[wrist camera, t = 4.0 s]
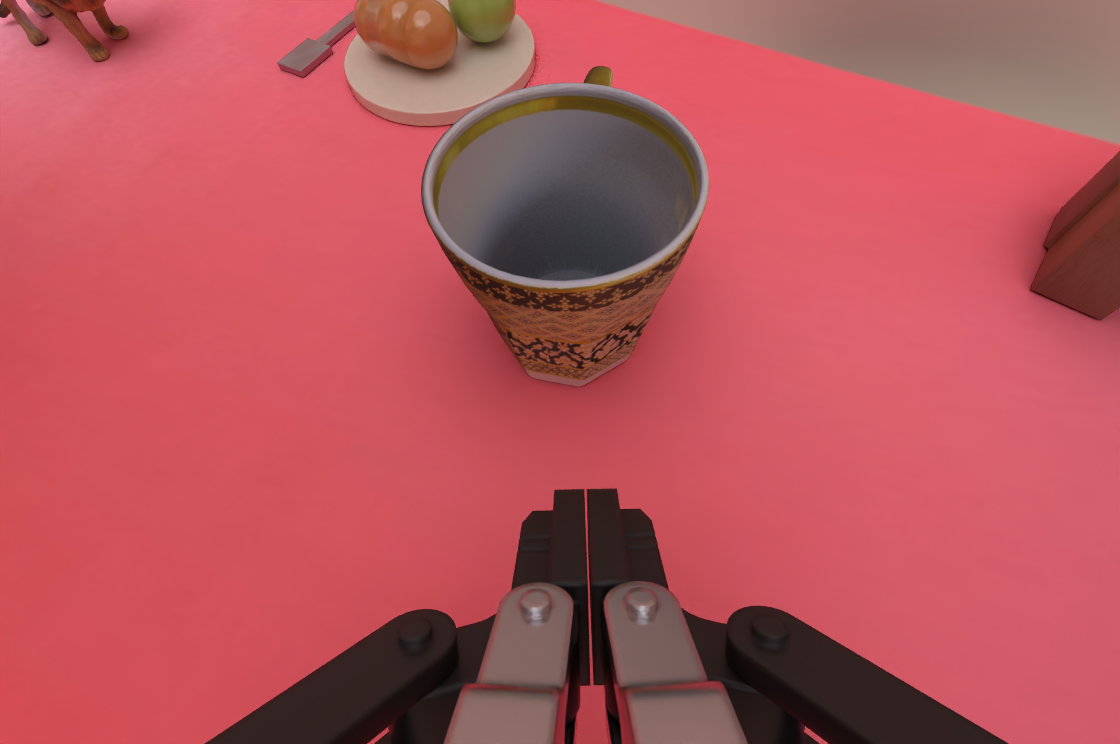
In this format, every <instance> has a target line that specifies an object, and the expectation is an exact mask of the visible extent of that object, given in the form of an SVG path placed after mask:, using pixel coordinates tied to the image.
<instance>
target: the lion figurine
mask: <svg viewBox="0 0 1120 744" xmlns="http://www.w3.org/2000/svg"><path fill="white" fill-rule="evenodd" d="M26 1H27V3H28V4H29V6H30V7H31V8H32V9H33V10H34V11H35V12H36V13H37V14H39V15H42V16H45V15H48V14H50V13H52V12H53V14H54V15H55V16H56V17H57V18H58V19H59V20H60V21H61V22H62V23H63V24H64V25H65V27H66V28H67V29H68V30H69V31H70V32H71V33H72V34H73V35H74V36H75V37H76V38H77V39H78V40H79V42H80V43H81V44H82V45H83V46H84V48H85V49H86V50H87V52H88V53H89V55H90V57H91V58H92V59H93V60H94V61H103V60H105V59H107V58H108V57H109V55H110V53H109V52H108V51H107V50H106V49H105V48H104V46H103V45H102V44H101V43H100V42H99V41H97V40H96V39H95V38H94V37H93V36H92V35H91V34H90V33H89V32H88V31H87V30H86V28H85V27H84V26H83V24H82V22H81V21H80V19H79V18H78V16H77V12H84V11H92V13H93V14H94V16H95V18H96V20H97V22H98V23H99V25H100V27H101V28H102V30H103V31H104V33H105V34H106V35H108V36H109V37H111V38H114V39H124V38H125V37H127V35H128V30H127V28H126V27H125V26H122V25H120V26H116V25H114V24H113V23H112V21H111V20H110V18H109V17H108V14H107V12H106V10H105V7H104V5H103V4H104V2H105V1H106V0H26ZM10 13H12V15H13V17H14V18H15V19H16V20H17V21H18V22H19V24H20V25H21V26H22V28H23V29H24V31H25V32H26V34H27V36H28V39H29V41H30V42H31V43H32V44H34V45H37V44H41V43H42V42H44V41H45V40H47V36H46V35H45V34H44V33H43V32H42V31H40V30H39V29H37V28H36V27H35V26H34V25H33V23H32V22H31V21H30V20H29V18H28V17H27V15H26V13H25V12H24V11H23V10H22V9H21V8H20V7H19V5H18V4H17V2H16V0H1V4H0V17H2V18H5V17H7V16H8V15H9V14H10Z"/></svg>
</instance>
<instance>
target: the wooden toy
mask: <svg viewBox="0 0 1120 744" xmlns="http://www.w3.org/2000/svg"><path fill="white" fill-rule="evenodd" d="M1044 245H1045V247H1046V248H1048V251H1047V253H1046V255H1045V258H1044V260H1043V262H1042V264H1041V266H1040V268H1039V271H1038V273H1037V275H1036V278H1035V280H1034V282H1033V285H1032V287H1031V290H1033V291H1035V292H1037V293H1040V294H1042V295H1044V296H1046V297H1049V298H1051V299H1053V300H1055V301H1058V302H1060V303H1062V304H1065V305H1067V306H1069V307H1071V308H1074V309H1076V310H1078V311H1081V312H1083V313H1085V314H1087V315H1090V316H1092V317H1094V318H1097V319H1099V320H1102V319H1103V318H1104V317H1106V316H1107V315H1109V314H1110V313H1112V312H1113V311H1115V310H1116V309H1118V308H1119V307H1120V151H1119V152H1118V153H1117V154H1116V155H1115V156H1114V157H1113V158H1112V159H1111V160H1110V161H1109V162H1108V163H1107V164H1106V165H1105V166H1104V167H1103V168H1102V169H1101V170H1100V171H1099V172H1098V173H1097V174H1096V175H1095V176H1094V177H1093V178H1092V179H1091V180H1090V181H1089V182H1088V183H1087V184H1086V185H1085V186H1084V187H1083V188H1082V189H1081V190H1080V191H1079V192H1078V193H1076V194H1075V195H1074V196H1073V197H1072V198H1071V199H1070V200H1069V201H1068V202H1067V203H1066V204H1065V205H1064V206H1063V207H1062V208H1061V209H1060V210H1059V213H1058V215H1057V217H1056V219H1055V221H1054V224H1053V226H1052V228H1051V230H1050V232H1049V235H1048V237H1047V239H1046V241H1045V244H1044Z"/></svg>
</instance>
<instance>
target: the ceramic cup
mask: <svg viewBox="0 0 1120 744" xmlns="http://www.w3.org/2000/svg"><path fill="white" fill-rule="evenodd" d="M612 77H613V74H612V70H611V69H610V68H609V67H604V66H597V67H594V68H592V69H591V70H590V71H589V73H588V74H587V76H586V78H585V80H584V83H554V84H546V85H537V86H532V87H528V88H524V89H519V90H515V91H512V92H510V93H507V94H504V95H501V96H498V97H496V98H494V99H492V100H490V101H487V102H485V103H483V104H482V105H480V106H478V107H476V108H475V109H473V110H471V111H470V112H468V113H467V114H466V115H464V116H463V117H461V118H460V119H459V120H458V121H456V122H455V123H454V124H453V125H452V126H451V127H450V128H449V129H448V130H447V131H446V132H445V133H444V134H443V135H442V137H441V138H440V140H439V141H438V142H437V144H436V145H435V147H434V148H433V150H432V152H431V154H430V155H429V158H428V160H427V163H426V166H425V169H424V173H423V177H422V186H421V194H422V204H423V209H424V213H425V216H426V219H427V221H428V224H429V226H430V228H431V229H432V231H433V233H434V235H435V237H436V238H437V240H438V242H439V244H440V246H441V248H442V249H443V251H444V253H445V255H446V256H447V258H448V259H449V261H450V262H451V264H452V265H453V267H454V269H455V270H456V272H457V273H458V275H459V276H460V278H461V279H462V281H463V282H464V284H465V285H466V287H467V288H468V289H469V290H470V292H471V293H472V294H473V295H474V297H475V298H476V299H477V300H478V302H479V303H480V304H481V305H482V306H483V307H484V309H485V310H486V311H487V313H488V315H489V316H490V318H491V320H492V322H493V323H494V325H495V327H496V329H497V331H498V332H499V334H500V335H501V337H502V338H503V340H504V341H505V343H506V344H507V346H508V347H509V349H510V350H511V352H512V353H513V355H514V356H515V357H516V359H517V360H518V362H519V363H520V365H521V366H522V368H523V369H524V370H525V372H526V373H527V374H528V375H529V376H531V377H532V378H535V379H540V380H545V381H550V382H556V383H561V384H566V385H572V386H577V387H580V386H583V385H585V384H587V383H588V382H590V381H592V380H593V379H595V378H597V377H599V376H600V375H602V374H604V373H606V372H607V371H609V370H611V369H612V368H614V367H616V366H618V365H619V364H621V363H623V362H624V361H626V360H627V359H629V357H630V355H631V353H632V351H633V350H634V348H635V346H636V344H637V341H638V339H639V337H640V336H641V334H642V332H643V330H644V328H645V326H646V324H647V322H648V320H649V318H650V316H651V314H652V312H653V310H654V308H655V306H656V303H657V302H658V300H659V299H660V298H661V296H662V295H663V293H664V292H665V290H666V288H667V287H668V285H669V284H670V282H671V280H672V278H673V276H674V274H675V272H676V271H677V269H678V267H679V265H680V263H681V261H682V259H683V257H684V255H685V253H686V252H687V249H688V247H689V245H690V243H691V240H692V238H693V236H694V234H695V231H696V229H697V226H698V224H699V222H700V219H701V217H702V214H703V212H704V209H705V206H706V203H707V197H708V190H709V179H708V169H707V165H706V161H705V158H704V155H703V153H702V151H701V148H700V146H699V145H698V143H697V141H696V140H695V138H694V137H693V135H692V134H691V133H690V132H689V130H688V129H687V128H686V127H685V126H684V125H683V124H682V123H681V122H680V121H679V120H678V119H677V118H676V117H674V116H673V115H672V114H671V113H669V112H668V111H666V110H665V109H663V108H662V107H660V106H659V105H657V104H655V103H653V102H651V101H649V100H647V99H645V98H643V97H641V96H638V95H636V94H633V93H630V92H627V91H624V90H621V89H617V88H613V87H612Z"/></svg>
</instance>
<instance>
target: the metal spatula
mask: <svg viewBox="0 0 1120 744" xmlns="http://www.w3.org/2000/svg"><path fill="white" fill-rule="evenodd" d="M353 27H355V22H354V11H352V12H351V13H350V14H349V15H347V16H346V17H345V18H344V19H342V20H341V21H340V22H339V23H338V24H336V25H335V26H334V27H333V28H331V29H330V30H329V31H328V32H326V33H325V34H324V35H323V36H322V37H320V38H319V39H318V40H317V41H314V40H311V39H309V38H307V39H306V40H305V41H303V42H302V43H301V44H300V45H298V46H297V47H296V48H295V49H294V50H292V51H291V52H290V53H289V54H287V55H286V56H285V57H284V58H282V59H281V60H280V61H279V62H278V65H279V67H280V69H282V70H285V71H287V72H290V73H293V74H295V75H298V76H301V77H305V76H306V75H307V74H308V73H309V72H310V71H312V70H313V69H314V68H315V67H316V66H318V65H319V64H320V63H321V62H322V61H324V60H325V59H326V58H327V57H328V56H330V55H331V54H332V53H333V51H332V48H331V46H332V45H333V44H334V43H335V42H337V41H338V40H339V39H340V38H341V37H343V36H344V35H345V34H346V33H347V32H349V31H350V30H351V29H352V28H353Z"/></svg>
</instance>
